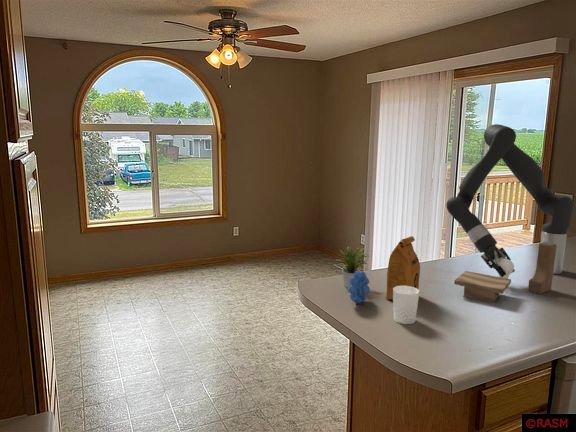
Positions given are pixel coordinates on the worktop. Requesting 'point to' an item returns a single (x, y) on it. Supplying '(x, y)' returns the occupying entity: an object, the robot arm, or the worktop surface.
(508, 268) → the lightbulb
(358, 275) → the grapes
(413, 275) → the coffee package
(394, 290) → the white cup
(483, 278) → the stand
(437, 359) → the worktop surface
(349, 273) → the house plant
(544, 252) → the wooden block
